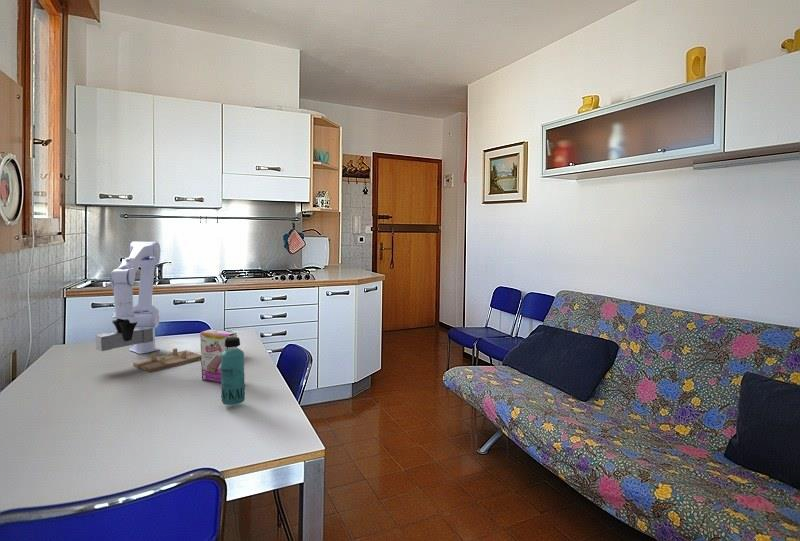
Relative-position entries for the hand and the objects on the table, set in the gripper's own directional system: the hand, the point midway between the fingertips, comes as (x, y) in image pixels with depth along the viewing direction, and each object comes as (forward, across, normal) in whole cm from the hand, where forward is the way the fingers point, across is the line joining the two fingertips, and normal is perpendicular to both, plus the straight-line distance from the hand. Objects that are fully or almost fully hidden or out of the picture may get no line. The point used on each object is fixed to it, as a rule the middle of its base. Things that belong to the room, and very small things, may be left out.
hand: (125, 339), depth 168 cm
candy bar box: (+10, +40, +11) cm, 43 cm away
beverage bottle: (+10, +62, +2) cm, 63 cm away
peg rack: (+9, +8, +11) cm, 17 cm away
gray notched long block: (+2, 0, 0) cm, 2 cm away
